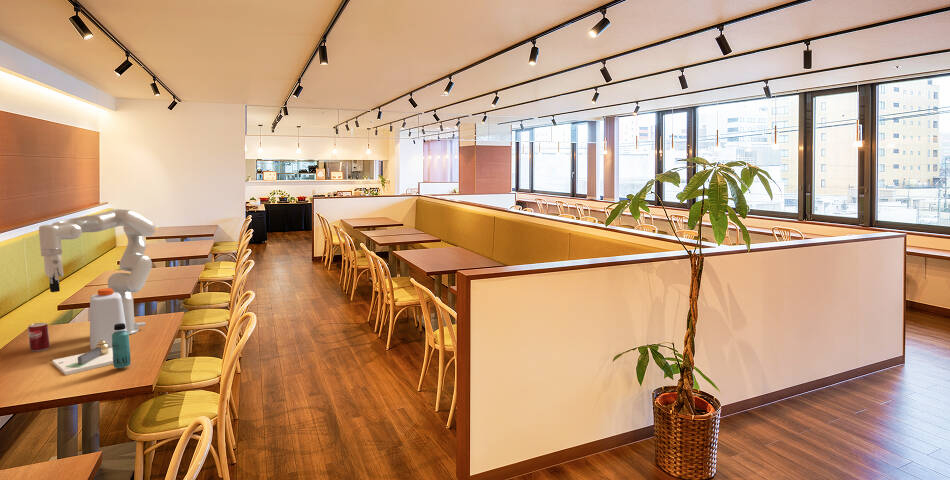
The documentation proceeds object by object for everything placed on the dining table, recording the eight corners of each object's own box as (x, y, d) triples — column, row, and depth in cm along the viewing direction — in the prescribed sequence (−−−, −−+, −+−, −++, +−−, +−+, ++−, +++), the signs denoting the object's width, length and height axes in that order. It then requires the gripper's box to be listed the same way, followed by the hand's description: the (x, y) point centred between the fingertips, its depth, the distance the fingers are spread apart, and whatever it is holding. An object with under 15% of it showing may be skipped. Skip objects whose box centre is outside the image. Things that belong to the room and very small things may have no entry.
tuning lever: (100, 351, 245) (100, 339, 244) (110, 351, 245) (109, 339, 244) (74, 364, 228) (73, 352, 228) (85, 364, 229) (84, 352, 228)
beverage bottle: (118, 366, 233) (115, 321, 230) (134, 365, 234) (131, 321, 231) (110, 371, 227) (106, 326, 224) (126, 371, 227) (123, 326, 224)
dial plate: (112, 350, 252) (112, 346, 252) (128, 360, 240) (127, 356, 239) (52, 363, 234) (52, 359, 234) (65, 375, 222) (65, 371, 222)
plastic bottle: (129, 347, 256) (125, 290, 253) (90, 353, 247) (86, 294, 244) (126, 339, 268) (122, 284, 265) (89, 344, 259) (85, 288, 255)
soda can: (38, 352, 247) (36, 327, 246) (25, 351, 249) (23, 326, 247) (53, 347, 254) (51, 323, 253) (41, 346, 256) (39, 321, 254)
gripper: (66, 253, 240) (69, 292, 242) (57, 249, 249) (60, 287, 251) (45, 255, 234) (49, 295, 236) (36, 251, 243) (40, 290, 246)
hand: (55, 291), depth 244 cm, fingers closed
